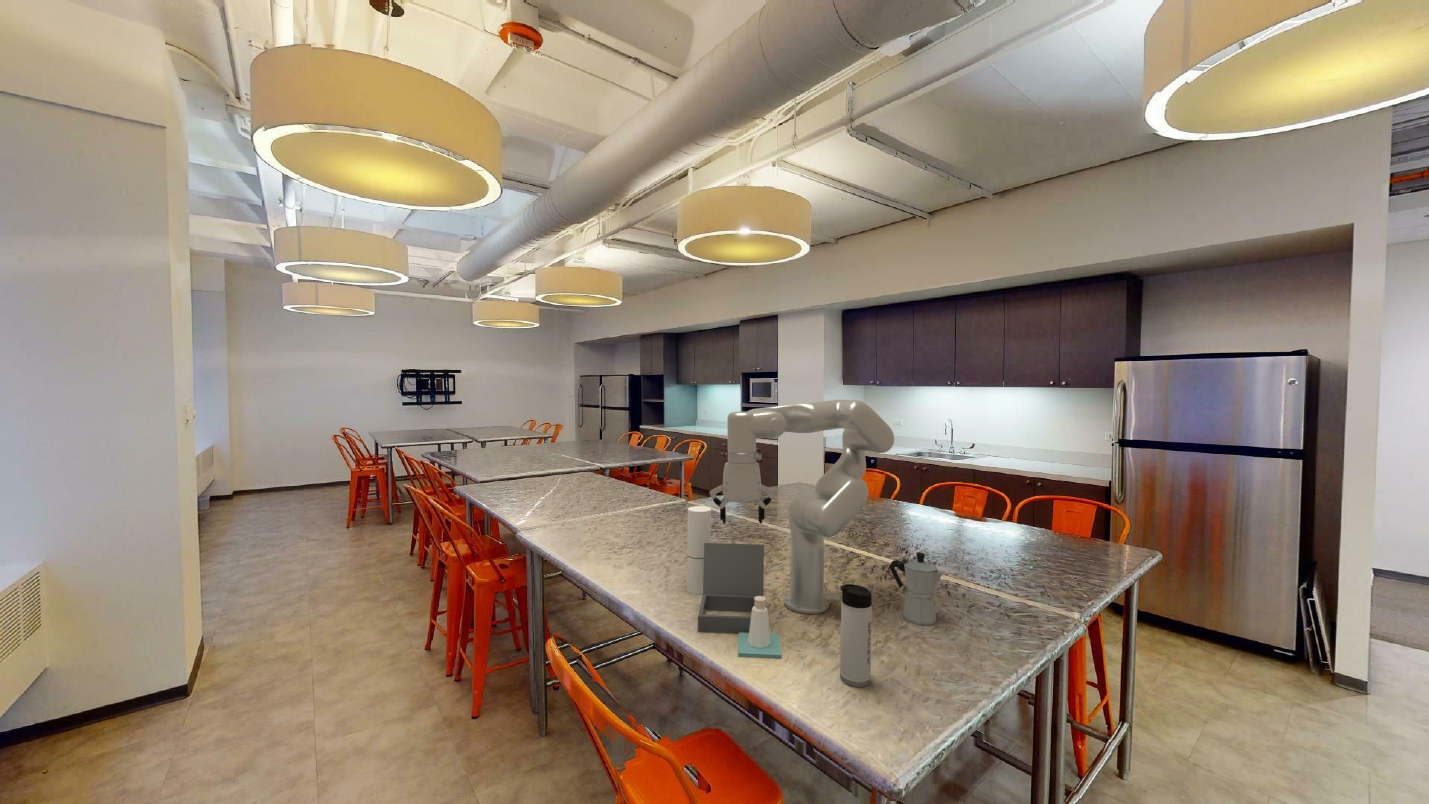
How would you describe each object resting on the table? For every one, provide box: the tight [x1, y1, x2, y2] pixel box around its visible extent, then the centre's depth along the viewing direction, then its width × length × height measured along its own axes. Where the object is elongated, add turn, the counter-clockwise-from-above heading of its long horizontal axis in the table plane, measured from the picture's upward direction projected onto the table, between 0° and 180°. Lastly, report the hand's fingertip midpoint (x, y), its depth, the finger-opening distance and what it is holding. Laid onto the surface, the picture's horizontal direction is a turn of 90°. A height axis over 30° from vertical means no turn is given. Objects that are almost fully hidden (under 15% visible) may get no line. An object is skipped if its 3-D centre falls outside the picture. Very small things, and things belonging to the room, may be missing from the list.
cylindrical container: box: [686, 505, 712, 595], centre depth 156 cm, size 7×7×25 cm
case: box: [697, 594, 756, 635], centre depth 135 cm, size 17×14×4 cm
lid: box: [702, 542, 765, 597], centre depth 144 cm, size 17×14×1 cm
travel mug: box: [839, 583, 873, 688], centre depth 108 cm, size 6×7×20 cm
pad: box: [737, 632, 783, 660], centre depth 122 cm, size 10×10×1 cm
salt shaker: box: [748, 595, 771, 648], centre depth 122 cm, size 5×5×11 cm
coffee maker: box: [888, 551, 945, 626], centre depth 139 cm, size 15×9×18 cm, turn 47°
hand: (742, 522), depth 135 cm, fingers open, 9 cm apart
